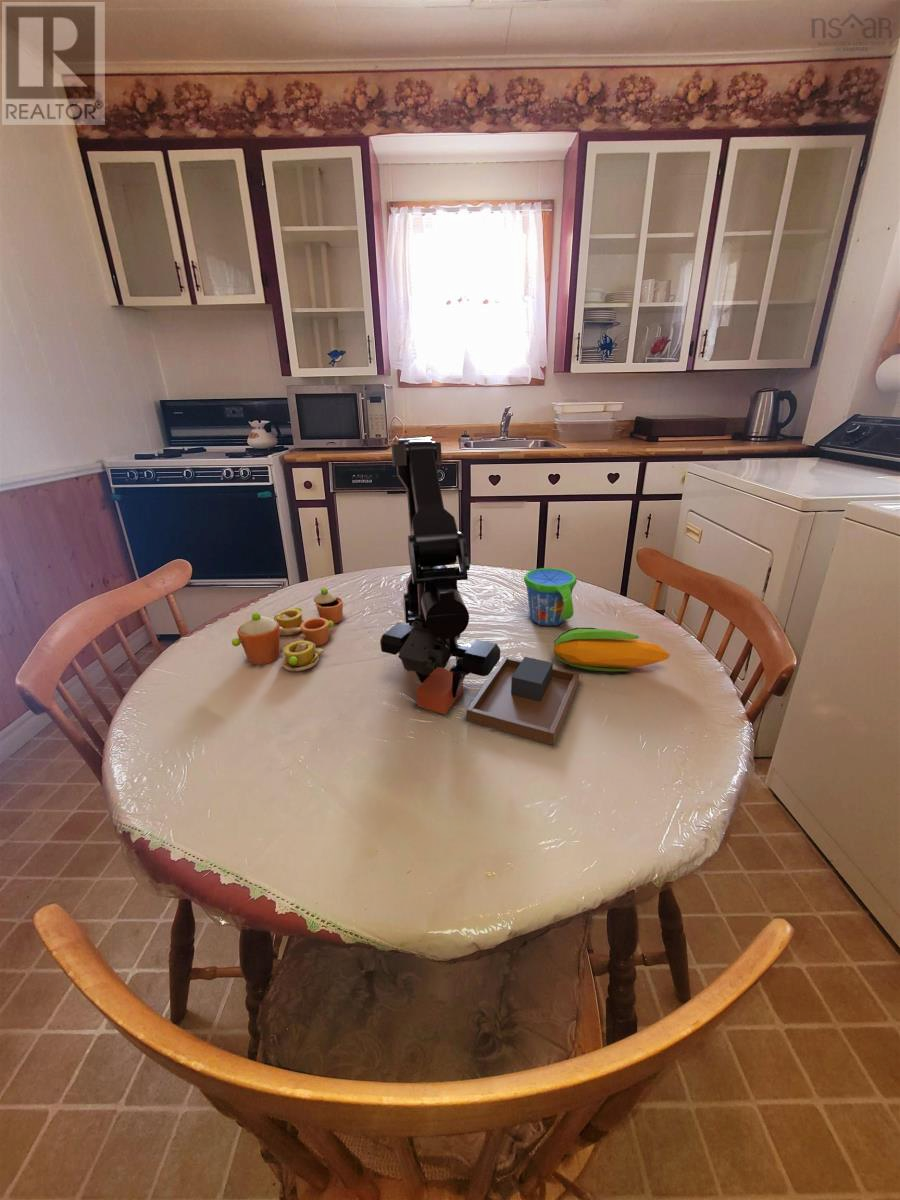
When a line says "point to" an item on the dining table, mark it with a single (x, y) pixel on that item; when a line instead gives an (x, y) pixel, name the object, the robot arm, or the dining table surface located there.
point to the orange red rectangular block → (437, 691)
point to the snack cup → (550, 595)
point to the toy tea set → (265, 634)
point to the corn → (605, 649)
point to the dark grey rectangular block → (531, 678)
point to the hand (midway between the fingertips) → (440, 692)
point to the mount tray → (523, 704)
